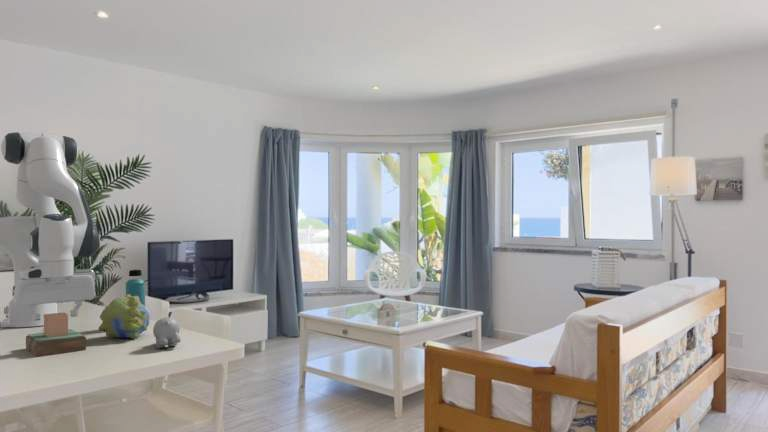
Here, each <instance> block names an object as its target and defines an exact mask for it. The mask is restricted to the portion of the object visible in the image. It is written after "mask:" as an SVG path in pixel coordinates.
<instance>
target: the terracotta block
mask: <svg viewBox="0 0 768 432" xmlns="http://www.w3.org/2000/svg"><path fill="white" fill-rule="evenodd" d="M68 330H69V313H66V312H64V311H63V312H57V313H51V314H44V325H43V333H44V336H46V337H48V338H49V337H57V336H65V335H68Z"/></svg>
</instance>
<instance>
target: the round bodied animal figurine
mask: <svg viewBox="0 0 768 432" xmlns="http://www.w3.org/2000/svg"><path fill="white" fill-rule="evenodd" d="M152 329H153V331H152V332H153V336H154V338H155V348H157V349H163V348H165V347H166V346H167V347H169V348H172V347H173V348H174V347H175V346H178V344H179V343H181V340H182V339H181V336H180V330H181V327H180V324H179V322H178V321H177V320H176V319H175V318H173V317H169V316H166V317H162V318H159V319H158V320H157V321H156V322H155V324H154V326H153V328H152Z"/></svg>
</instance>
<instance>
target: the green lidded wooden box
mask: <svg viewBox="0 0 768 432" xmlns="http://www.w3.org/2000/svg"><path fill="white" fill-rule="evenodd" d="M86 348H87V336H85V335H84V334H81V333H79V332H77V331H76V330H74V329H70V328H69V329H68V335H65V336H57V337H49V338H48V337H46V336H44V332H40V333H39V332H38V333H30V334H29V333H28V334H27V335H26V336H25V349H26V350H27V351H29V352H30V353H32V354H33V355H34V356H35V357H45V356H51V355H58V354H64V353H72V352H79V351H85V350H87V349H86Z"/></svg>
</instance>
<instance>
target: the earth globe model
mask: <svg viewBox="0 0 768 432" xmlns="http://www.w3.org/2000/svg"><path fill="white" fill-rule="evenodd" d="M99 318H100V320H101V321H102V323H101V324H100V325H99V326H98V331H101V332H103V333H105V336H106V338H109V339H114V338H122V339H123V338H128V339H129V338H130V339H131V340H135V339H138V337H139V336H140V335H141V334H142V333H143V332H145V331H147V329H148V326H149V324H150V320H151V314H150V311H149V310H148V308H147V306H146V304H145V305H144V304H141V302H140V300H139V297H138V296H131V295H129V294H127V295H126V294H125V296H120V297H115V298H114V299H113V300H112V301H111V302H110V303H109V304H108V305H107V306H105V308H104V309H103V310H102V312H101V314H100V315H99Z"/></svg>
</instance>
